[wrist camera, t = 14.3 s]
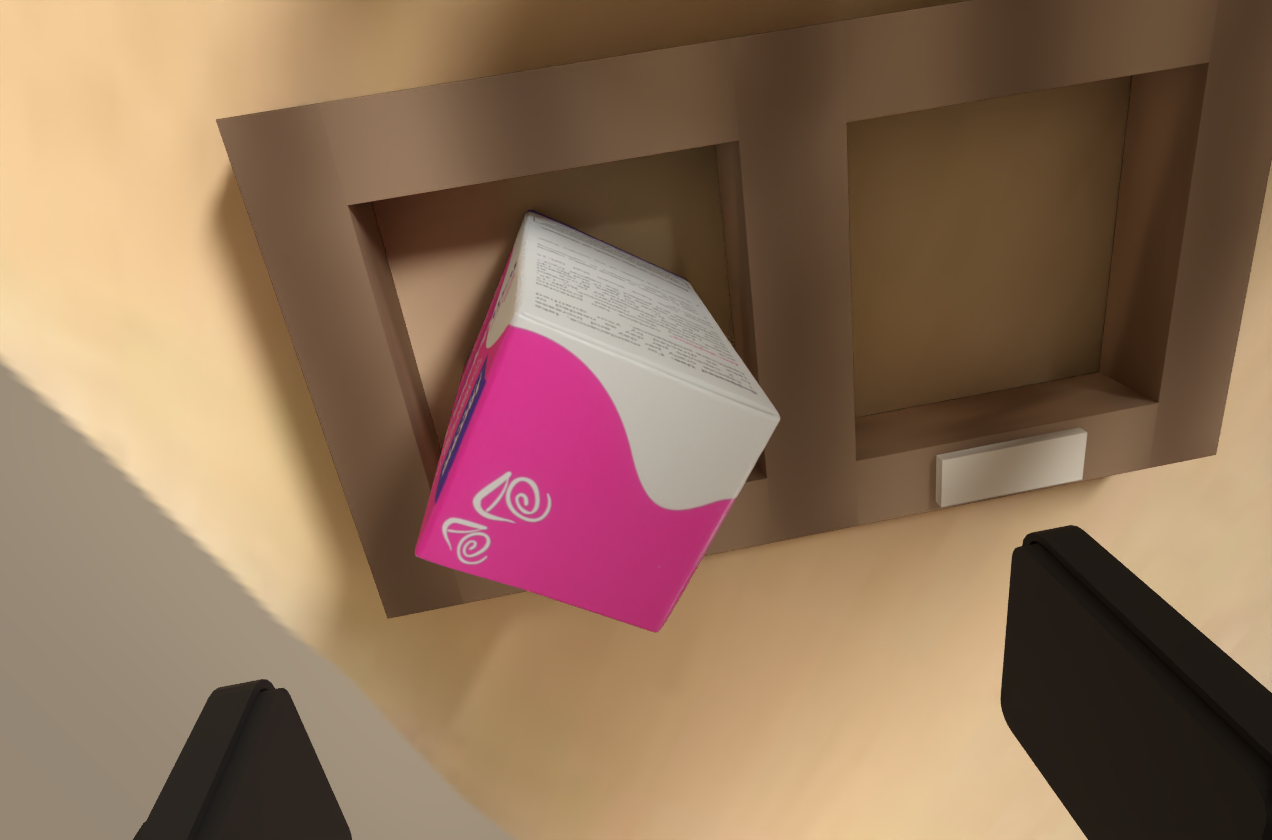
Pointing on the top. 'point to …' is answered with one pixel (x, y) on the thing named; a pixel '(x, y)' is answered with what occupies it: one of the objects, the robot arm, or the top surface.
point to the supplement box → (593, 432)
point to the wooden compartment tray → (794, 249)
